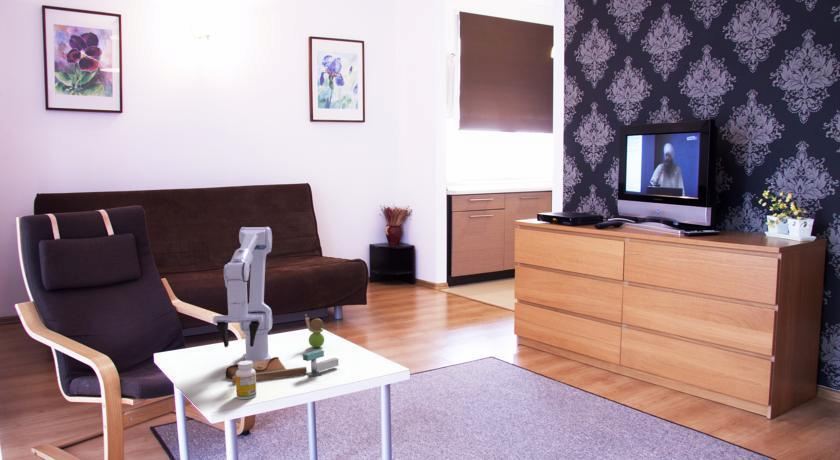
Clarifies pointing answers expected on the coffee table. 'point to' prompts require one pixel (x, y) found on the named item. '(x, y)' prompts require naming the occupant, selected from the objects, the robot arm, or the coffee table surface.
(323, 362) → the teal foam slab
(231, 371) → the sunglasses case
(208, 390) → the coffee table surface
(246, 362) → the supplement bottle
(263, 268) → the robot arm
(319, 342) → the snail figurine
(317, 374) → the lock plate
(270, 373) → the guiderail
